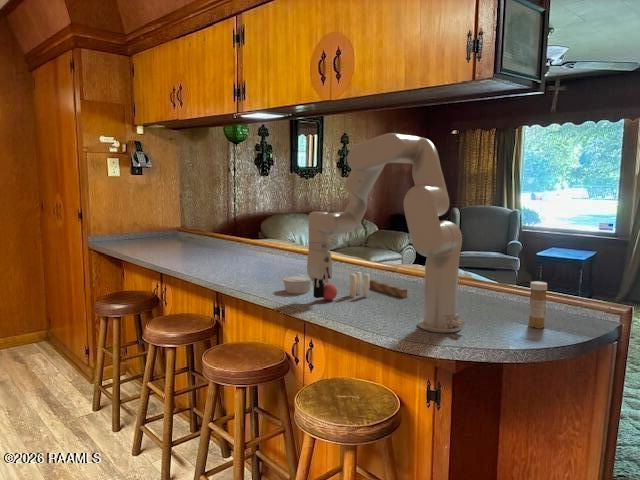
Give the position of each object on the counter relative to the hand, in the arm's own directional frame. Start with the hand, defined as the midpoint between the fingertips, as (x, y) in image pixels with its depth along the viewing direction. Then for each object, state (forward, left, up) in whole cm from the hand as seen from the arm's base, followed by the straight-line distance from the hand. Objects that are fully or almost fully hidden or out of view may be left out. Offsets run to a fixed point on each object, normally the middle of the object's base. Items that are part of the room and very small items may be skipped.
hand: (318, 297), depth 174 cm
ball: (0, -5, +1) cm, 5 cm away
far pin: (+2, -19, -2) cm, 19 cm away
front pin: (0, -15, -2) cm, 15 cm away
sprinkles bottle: (-59, -40, -2) cm, 72 cm away
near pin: (-3, -19, -2) cm, 20 cm away
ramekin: (+19, -2, -2) cm, 19 cm away
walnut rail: (0, -31, -2) cm, 31 cm away
